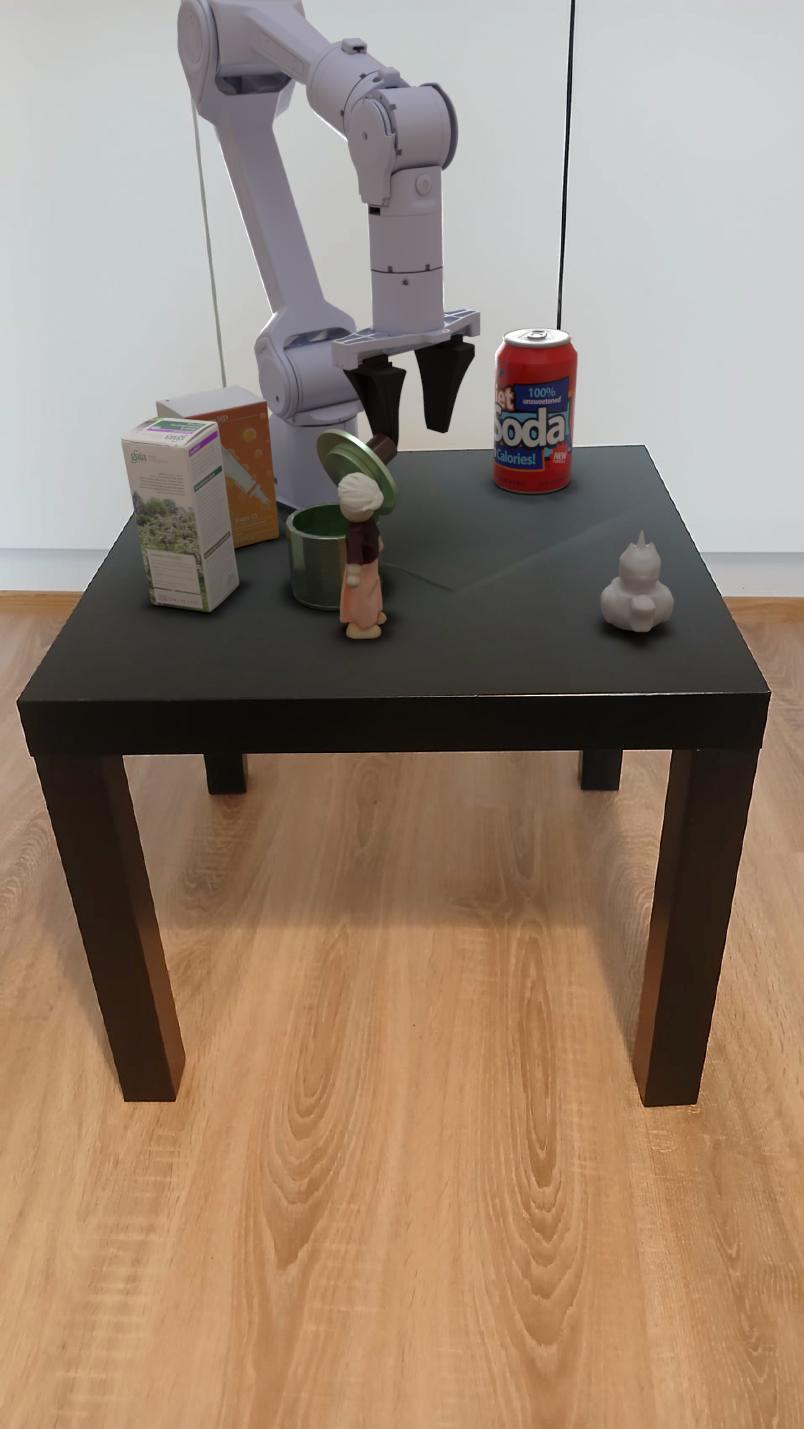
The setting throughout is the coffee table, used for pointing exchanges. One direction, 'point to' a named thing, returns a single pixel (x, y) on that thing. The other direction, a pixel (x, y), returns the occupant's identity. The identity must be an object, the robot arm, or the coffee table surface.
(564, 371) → the soda can
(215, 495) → the syrup box
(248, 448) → the small box
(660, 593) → the horned animal figurine
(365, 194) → the robot arm
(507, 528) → the coffee table surface
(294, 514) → the pot
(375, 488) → the grandmother figurine
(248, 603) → the coffee table surface
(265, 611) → the coffee table surface
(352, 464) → the pot lid
